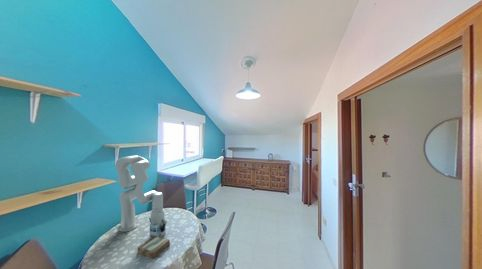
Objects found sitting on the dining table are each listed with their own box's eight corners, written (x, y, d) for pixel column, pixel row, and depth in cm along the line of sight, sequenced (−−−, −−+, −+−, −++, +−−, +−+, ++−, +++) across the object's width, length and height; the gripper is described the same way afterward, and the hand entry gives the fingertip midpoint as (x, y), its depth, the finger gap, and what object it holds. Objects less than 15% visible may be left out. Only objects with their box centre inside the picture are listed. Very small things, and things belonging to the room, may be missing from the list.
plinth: (137, 253, 113) (137, 247, 113) (154, 240, 126) (154, 235, 126) (153, 259, 108) (153, 252, 108) (169, 245, 121) (169, 239, 121)
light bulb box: (157, 240, 127) (156, 226, 126) (149, 238, 128) (149, 224, 128) (166, 231, 137) (166, 218, 137) (158, 230, 139) (158, 217, 138)
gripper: (145, 209, 131) (145, 230, 132) (162, 212, 125) (162, 235, 126) (153, 204, 138) (153, 225, 139) (170, 208, 132) (170, 229, 133)
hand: (158, 230), depth 132 cm, fingers open, 9 cm apart
